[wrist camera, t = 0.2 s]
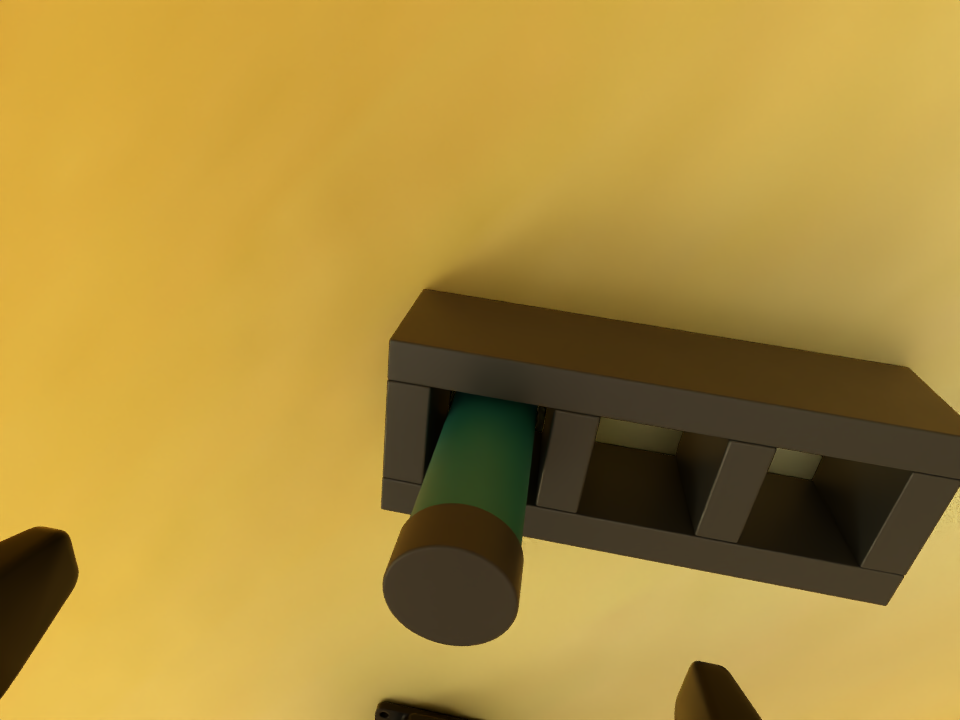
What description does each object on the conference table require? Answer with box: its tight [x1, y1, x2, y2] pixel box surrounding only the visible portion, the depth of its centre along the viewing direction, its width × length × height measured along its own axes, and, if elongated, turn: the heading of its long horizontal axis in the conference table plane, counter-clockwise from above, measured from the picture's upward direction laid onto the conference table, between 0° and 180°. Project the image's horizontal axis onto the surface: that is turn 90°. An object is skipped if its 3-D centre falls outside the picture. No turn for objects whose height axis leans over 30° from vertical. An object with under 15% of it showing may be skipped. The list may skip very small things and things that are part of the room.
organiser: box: [381, 289, 960, 606], centre depth 21 cm, size 7×17×4 cm, turn 83°
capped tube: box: [383, 391, 538, 646], centre depth 19 cm, size 3×3×10 cm
